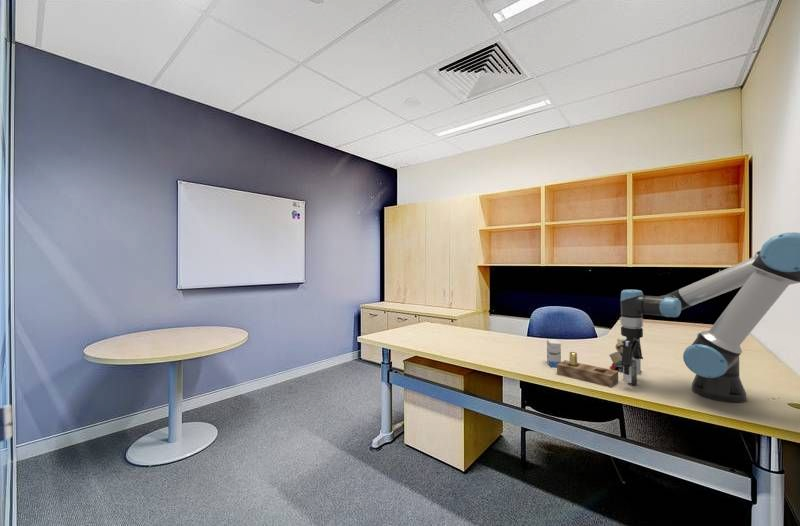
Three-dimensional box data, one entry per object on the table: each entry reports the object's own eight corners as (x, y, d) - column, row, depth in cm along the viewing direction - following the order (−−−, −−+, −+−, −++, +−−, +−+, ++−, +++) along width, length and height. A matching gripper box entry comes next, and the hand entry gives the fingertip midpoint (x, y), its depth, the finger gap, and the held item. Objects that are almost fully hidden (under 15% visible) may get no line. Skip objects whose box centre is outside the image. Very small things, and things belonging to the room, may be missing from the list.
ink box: (561, 367, 162) (561, 343, 162) (550, 367, 163) (550, 343, 163) (557, 362, 170) (556, 339, 170) (546, 361, 171) (546, 339, 171)
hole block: (618, 381, 143) (618, 371, 142) (611, 387, 137) (611, 376, 137) (565, 369, 159) (565, 360, 159) (557, 374, 153) (556, 364, 153)
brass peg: (578, 374, 152) (578, 352, 152) (575, 376, 150) (575, 354, 150) (571, 373, 154) (571, 351, 154) (568, 374, 152) (568, 352, 152)
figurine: (606, 371, 156) (606, 339, 156) (611, 365, 164) (611, 334, 164) (640, 377, 147) (640, 343, 147) (644, 370, 155) (643, 338, 155)
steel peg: (637, 384, 139) (637, 360, 139) (635, 386, 137) (635, 362, 137) (629, 382, 141) (629, 359, 141) (627, 384, 139) (626, 360, 139)
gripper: (629, 321, 150) (630, 368, 150) (611, 330, 134) (612, 383, 134) (650, 323, 144) (650, 372, 144) (633, 333, 128) (634, 388, 128)
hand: (632, 377), depth 139 cm, fingers open, 12 cm apart
